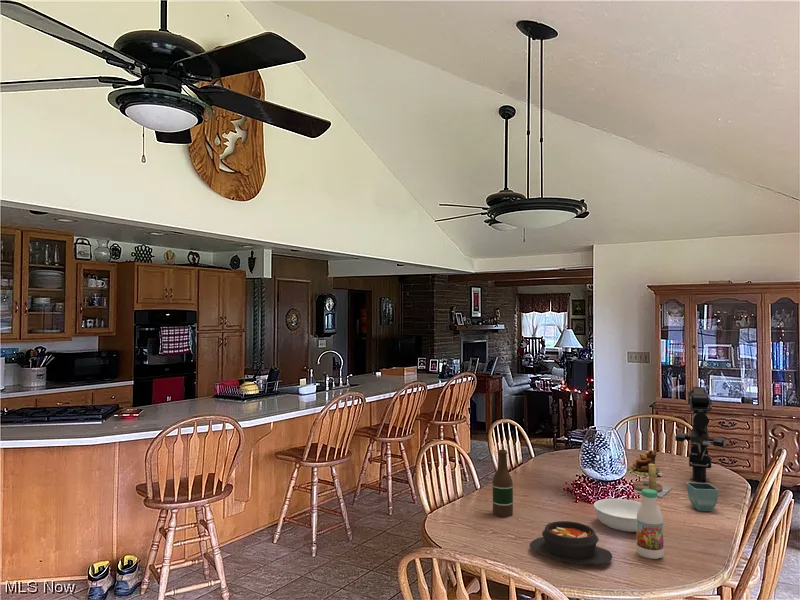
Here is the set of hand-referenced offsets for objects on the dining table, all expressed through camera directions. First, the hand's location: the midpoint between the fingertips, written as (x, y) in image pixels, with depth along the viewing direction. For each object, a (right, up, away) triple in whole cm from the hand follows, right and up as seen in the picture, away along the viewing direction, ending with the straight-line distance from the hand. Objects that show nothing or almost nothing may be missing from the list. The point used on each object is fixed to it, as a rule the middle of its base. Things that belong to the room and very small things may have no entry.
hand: (700, 459), depth 248 cm
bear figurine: (-13, -14, +26) cm, 32 cm away
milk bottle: (-50, -12, -66) cm, 84 cm away
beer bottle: (-90, -13, -30) cm, 96 cm away
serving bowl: (-49, -12, -43) cm, 66 cm away
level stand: (-23, -13, 0) cm, 26 cm away
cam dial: (-23, -13, 0) cm, 26 cm away
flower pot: (-12, -13, -24) cm, 30 cm away
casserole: (-76, -12, -67) cm, 102 cm away
